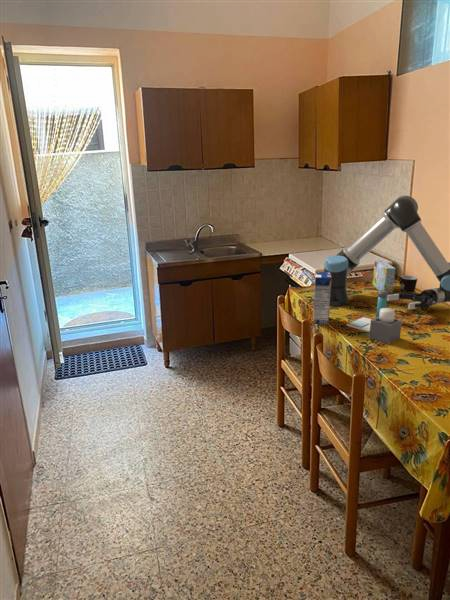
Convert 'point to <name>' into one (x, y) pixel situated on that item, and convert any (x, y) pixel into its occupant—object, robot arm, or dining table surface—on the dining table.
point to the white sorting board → (361, 324)
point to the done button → (387, 315)
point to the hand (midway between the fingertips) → (397, 302)
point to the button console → (385, 330)
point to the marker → (381, 300)
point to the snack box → (383, 276)
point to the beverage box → (322, 298)
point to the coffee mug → (408, 283)
